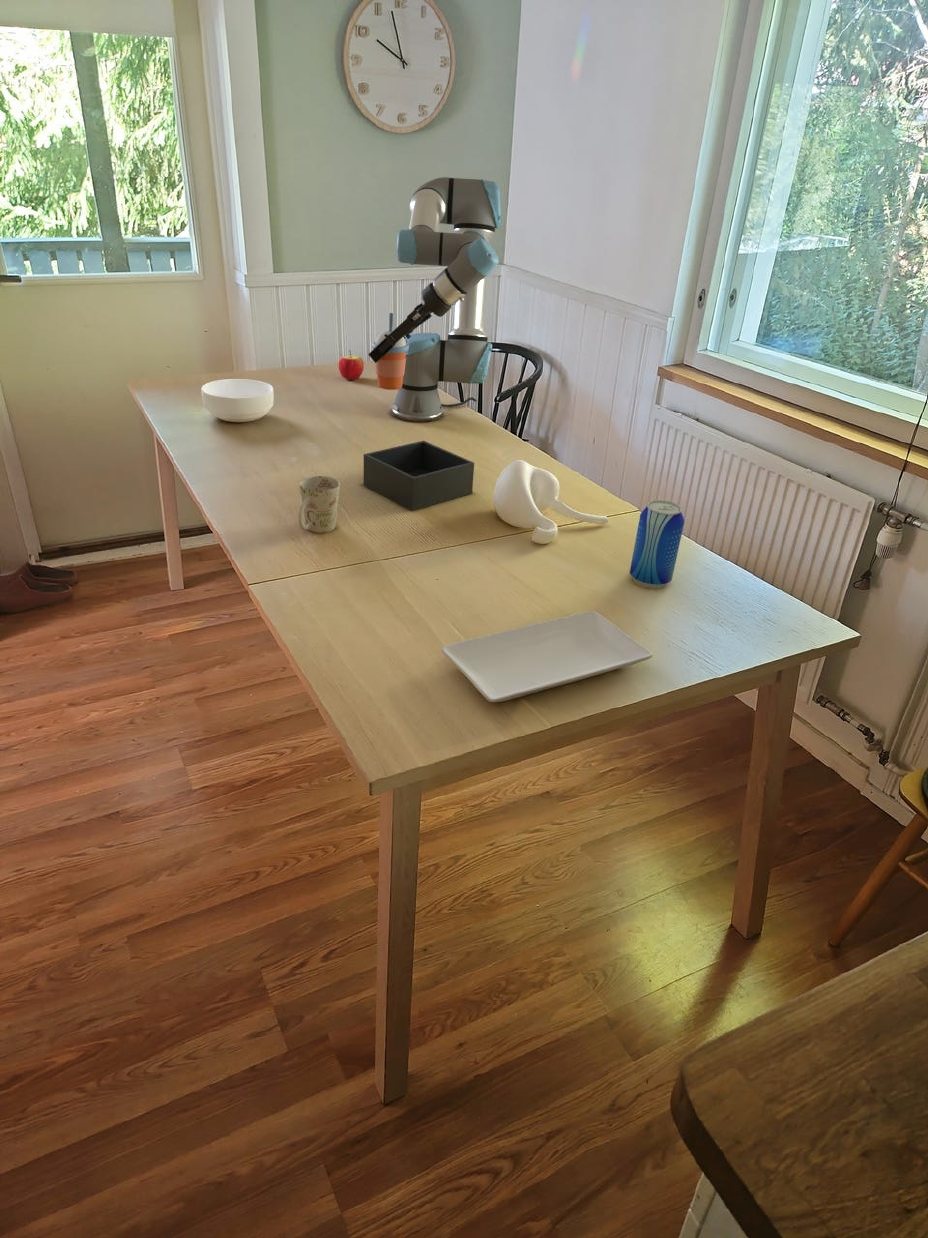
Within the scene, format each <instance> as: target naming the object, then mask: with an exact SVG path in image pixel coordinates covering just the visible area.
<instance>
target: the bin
mask: <svg viewBox="0 0 928 1238" xmlns="http://www.w3.org/2000/svg"><path fill="white" fill-rule="evenodd" d="M474 474H475V462H473V460H472V461H471V460H470V459H467V458H464V457H462V456H460V455H458V454H455V453H453V452H451V451H449V450H447V449H444V448H441V447H439V446H437V445H434V444H433V443H430V442H428V441H426V440H419V441H415V442H411V443H406V444H403V445H398V446H394V447H393V446H392V447H389V448H385V449H381V450H376V451H372V452H367V453H364V454H363V486H365V487H366V488H367V489H370V490H372V491H374V492H376V493H377V494H379V495H381V496H383V497H385V498H387V499H389V500H391V501H392V502H395V503H397V504H398V505H400V506H402V507H404V508H406V509H408V510H410V511H417V510H420V509H424V508H427V507H430V506H435V505H439V504H440V503H444V502H448V501H452V500H454V499H458V498H462V497H465V496H468V495H469V496H470V495H472V494H473V486H474Z"/></svg>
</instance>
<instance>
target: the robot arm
mask: <svg viewBox="0 0 928 1238" xmlns="http://www.w3.org/2000/svg"><path fill="white" fill-rule="evenodd" d="M499 187H500V186H499V185H498V183H497V182H496V181H493V180H485V179H483V178H479V179H478V178H477V179H476V178H459V177H447V176H444V177H443V176H442V177H437V178H434V179H430V180H429V181H426V182H425V183H423V184H422V185H420V186H419V187H418V188H417V189H416V190H415V191H414V193H413V194H412V196H411V198H410V202H409V212H410V213H409V214H410V215H411V216H410V220H409V226H408V229H400V230H398V233H397V238H396V258H397V261H398V263H401V264H409V265H412V266H413V265H416V266H417V265H418V266H419V265H420V266H421V265H422V266H434V267H435V266H436V267H446V268H444V269H443V270H442V271H441V272H440V273H438V275H437V276H436V277H435V278H434V279H433V281H432V282H429V284H428V285H427V286H425V288H423V289H422V291H421V292H420V296H421V300H422V301H423V303H422V302H420V304H417V305H416V306H415V307H414V308H413V310H412V311H411V312H410V313H409V314H408V315H407V316H406V318H405V319H404V320H403V321H402V322H401V323H400V324H399V325H397V327H396V328H395V329H393V332H391V333H390V334H389V335H387V334H385V335H384V336H385V337H386V338H385V339H384V340H383V341H382V342H381V343H380V344H379V345H378V346H377V347H376V348H375V349H373V348H372V350H371V351H370V352H369V353H368V356H369V358H370V359H371V360H372V361H373V362H374V364H375V363H376V362H378V361H379V360H380V359H381V358H382V357H383V356H384V355H385V354H386V353H387V352H388V351H389V350H390V349H391V348H393V347H394V346H395V344H396V343H397V342H398V341H399V340H400V339H401V338H403V337H404V339H405V341H406V343H407V344H408V346H409V350H408V351H407V352H406V356H405V357H406V363H405V372H404V376H403V383H402V387H401V388H400V389H397V391H396V395H395V398H394V402H393V403H392V405H391V414H392V416H393V417H395V418H396V419H399V420H402V421H406V422H415V423H416V422H417V423H428V422H435V421H437V420H440V419H441V418H442V417H443V412H444V411H443V408H453V407H458V406H462V405H464V404H467V403H468V402H470V401H473V402H477V399H476V398H474V397H468V398H467V399H465V400H464V401H461V402H457V403H452V404H451V403H450V404H445V403H442V402H441V398H440V394H439V390H438V389H439V382H440V383H441V382H444V383H455V384H456V383H458V384H467V385H471V384H473V385H476V384H478V385H479V384H482V383H484V382H485V381H486V379H487V375H488V371H489V365H490V362H491V356H492V349H493V344H492V343H491V342H488V338H489V336H488V334H487V333H486V332H485V331H484V323H485V321H484V318H485V305H486V290H487V276H489V275H491V273H492V271H493V270H494V269H495V268H496V267H497V266H498V265H499V262H500V259H499V256H498V254H497V252H496V250H495V249H494V248H493V246H492V245H491V243H490V240H491V239H492V238H493V237H494V236H495V235H496V229H499V228H500V227H501V223H502V220H501V215H502V212H501V211H502V210H501V195H500V194H501V193H500V188H499ZM440 225H453V232H443V231H442V232H441V231H439V230H440ZM453 306H454V314H453V326H452V327H453V328H452V329H451V330H450V331H449V332H448V333H447V339H442V338H441V335H440V334H439V333H436V332H435V333H434V332H418V333H413V332H414V330H415V329H417V328H418V327H419V326H421V325H423V324H424V323H425V322H427V321H428V320H429V319H430V318H432V316H433V315H435V316H436V317H439V318H440V317H444V316H445V315H446V314H447V313H448V312H449V311H450V310H451V309H452V307H453ZM432 314H433V315H432ZM391 336H392V337H391Z"/></svg>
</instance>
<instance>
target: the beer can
mask: <svg viewBox="0 0 928 1238" xmlns="http://www.w3.org/2000/svg"><path fill="white" fill-rule="evenodd" d="M682 511H683V508H682V506H680V505H679V504H678V503H675V502H673V501H670V500H663V499H654V500H651V501H648V502H647V503H646V507H645V508H644V509H643V510H641V512H640V515H639V521H638V525H637V531H636V535H635V541H634V547H633V552H632V557H631V562H630V567H629V574H630V576H631V578H632V581H633V582H634V583H635V585H637V586H640V587H642V588H645V589H650V590H658V589H659V590H660V589H664V588H666V586H668V584H669V583H670V582H672V580H673V577H674V573H675V572H674V571H675V567H676V562H677V557H678V554H679V549H680V544H681V540H682V535H683V530H684V526H685V518H684V515H683V513H682Z"/></svg>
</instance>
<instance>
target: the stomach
mask: <svg viewBox="0 0 928 1238" xmlns="http://www.w3.org/2000/svg"><path fill="white" fill-rule="evenodd" d="M559 494H560V482H559V480H558V478H557V477H556V476H555V475H554V474H553V473H551V472H550V471H549V470H546V469H543V468H540V467H537V466H534V465H531V464H530V463H528V462H527V461H525V460H522V459H516V460H513V461H511V462H510V463H509V464H507V465H506V466H505V467H504V469H503V470H502V471H501V473H500V474H499V476H498V478H497V480H496V482H495V486H494V490H493V506H494V509H495V512H496V514H497V515H498V517H499V518H500V519H501V520H502V521H503V522H504V523H506V524H508V525H511V526H513V527H515V528H516V527H517V528H520V529H533V532H532V534H531V541H532V542H535V544H541V545H545V544H549V543H551V542H553V541H554V540H555V539H556V537H557V536H558V532H559V531H558V530H559V529H558V525H557V523H556V522H555V521H554V520H552V519H550V518H548V517H546V516H544V515H543V514H544V513H546V512H548V511H549V510H553V511H554V512H555V513H556V514H558V515H559V516H561V517H565V518H569V519H571V520H576V521H579V522H583V523H588V524H597V525H607V524H608V523H609V519H608V517H607V516H605V515H596V514H589V513H585V512H584V513H583V512H580V511H577V510H575V509H574V508H571V507H570V506H568V505H567V504H565V503H564V501H562V500H559Z"/></svg>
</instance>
